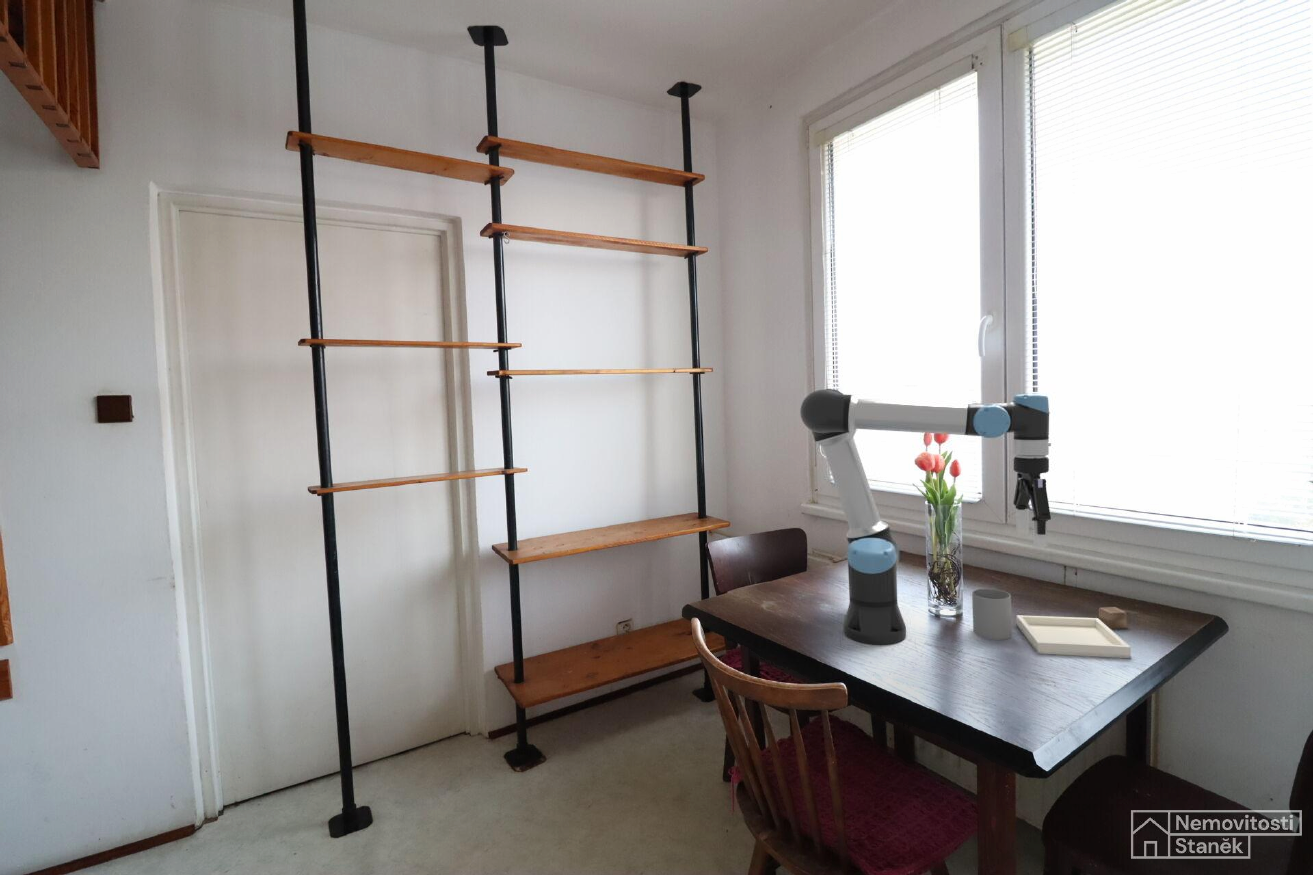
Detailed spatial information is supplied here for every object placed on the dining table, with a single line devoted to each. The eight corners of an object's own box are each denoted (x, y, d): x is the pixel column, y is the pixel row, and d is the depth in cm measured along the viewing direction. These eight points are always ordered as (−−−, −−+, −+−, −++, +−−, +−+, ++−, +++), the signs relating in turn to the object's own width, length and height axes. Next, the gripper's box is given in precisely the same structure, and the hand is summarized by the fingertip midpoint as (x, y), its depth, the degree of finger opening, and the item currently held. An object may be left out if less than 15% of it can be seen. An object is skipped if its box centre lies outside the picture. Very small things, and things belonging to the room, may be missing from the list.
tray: (1038, 653, 141) (1037, 642, 141) (1016, 624, 158) (1016, 615, 158) (1130, 658, 136) (1130, 647, 136) (1098, 628, 153) (1097, 618, 153)
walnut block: (1110, 628, 153) (1110, 613, 152) (1099, 623, 157) (1098, 607, 156) (1126, 628, 152) (1126, 612, 152) (1115, 622, 156) (1115, 606, 156)
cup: (1016, 639, 149) (1015, 599, 149) (979, 639, 151) (978, 599, 150) (1004, 627, 158) (1003, 588, 157) (969, 626, 159) (968, 588, 159)
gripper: (1067, 461, 140) (1066, 553, 142) (1031, 451, 164) (1031, 529, 166) (1030, 462, 142) (1029, 552, 144) (1000, 451, 166) (1000, 529, 168)
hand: (1030, 540), depth 155 cm, fingers open, 13 cm apart
